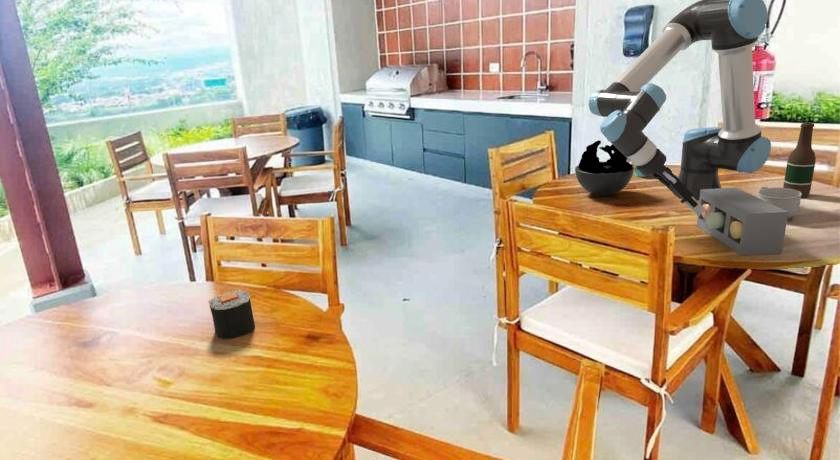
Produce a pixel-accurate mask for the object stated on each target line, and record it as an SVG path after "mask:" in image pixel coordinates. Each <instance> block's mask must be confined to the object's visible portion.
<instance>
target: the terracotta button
mask: <svg viewBox="0 0 840 460" xmlns="http://www.w3.org/2000/svg"><path fill="white" fill-rule="evenodd" d="M703 207H704V208H705V209H706V210H705V211H704V212H703V213H702V217H703V218H704V219H706V216H707V214H708V213H710V212H711V204H704V205H703Z"/></svg>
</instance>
